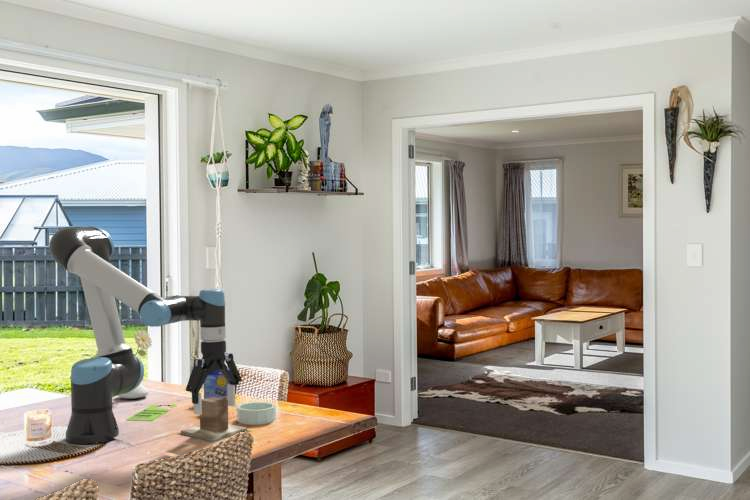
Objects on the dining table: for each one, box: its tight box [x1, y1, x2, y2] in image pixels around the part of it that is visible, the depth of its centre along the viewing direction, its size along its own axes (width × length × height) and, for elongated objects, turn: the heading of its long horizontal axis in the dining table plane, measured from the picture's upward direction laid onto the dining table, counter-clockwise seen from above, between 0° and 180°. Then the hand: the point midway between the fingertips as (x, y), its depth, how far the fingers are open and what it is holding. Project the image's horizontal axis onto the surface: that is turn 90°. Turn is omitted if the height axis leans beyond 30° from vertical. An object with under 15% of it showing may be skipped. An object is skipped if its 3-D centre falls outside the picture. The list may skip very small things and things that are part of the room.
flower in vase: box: [117, 329, 153, 400], centre depth 305 cm, size 13×11×25 cm
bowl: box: [236, 401, 277, 426], centre depth 266 cm, size 12×12×5 cm
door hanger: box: [125, 403, 177, 422], centre depth 282 cm, size 9×1×25 cm
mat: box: [177, 429, 251, 443], centre depth 250 cm, size 16×16×1 cm
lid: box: [180, 397, 248, 441], centre depth 250 cm, size 14×14×10 cm
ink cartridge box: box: [203, 368, 230, 400], centre depth 297 cm, size 10×6×14 cm, turn 79°
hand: (215, 410), depth 250 cm, fingers open, 13 cm apart
